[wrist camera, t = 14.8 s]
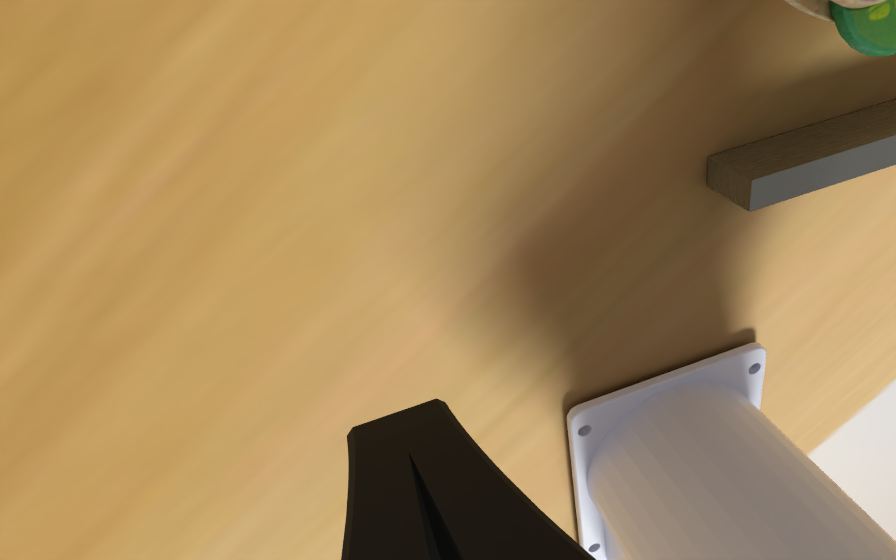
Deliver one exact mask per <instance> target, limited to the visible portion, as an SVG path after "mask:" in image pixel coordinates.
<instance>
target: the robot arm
mask: <svg viewBox="0 0 896 560" xmlns="http://www.w3.org/2000/svg"><path fill="white" fill-rule="evenodd" d="M765 362H766V349H765V348H764V347H763V346H761V345H760V344H759V343H756V342H753V343H749V344H746V345H743V346H741V347H738V348H735V349H732V350H729V351H727V352H724V353H721V354H718V355H715V356H713V357H710V358H707V359H704V360H701V361H699V362H696V363H693V364H690V365H687V366H685V367H682V368H679V369H676V370H673V371H671V372H668V373H665V374H662V375H660V376H657V377H654V378H651V379H648V380H646V381H643V382H640V383H637V384H634V385H632V386H629V387H626V388H623V389H620V390H618V391H615V392H612V393H609V394H606V395H604V396H601V397H598V398H595V399H593V400H590V401H587V402H584V403H581V404H579V405H576V406H575V407H573V408H572V409H571V410H570V411H569V413H568V415H567V427H568V437H569V447H570V456H571V466H572V475H573V485H574V495H575V504H576V514H577V524H578V533H579V543H580V545H579V544H578V543H577V542H576V541H574V540H573V539H572V538H571V537H570V536H569V535H568V534H566V533H565V532H564V531H563V530H562V529H561V528H560V527H558V526H557V525H556V524H555V523H554V522H553V521H552V520H551V519H550V518H549V517H548V516H547V515H545V514H544V513H543V512H542V511H541V510H540V509H539V508H538V507H537V506H536V505H535V504H534V503H533V502H532V501H531V500H530V499H529V498H528V497H527V496H526V495H525V494H524V493H523V492H522V491H521V490H520V489H519V488H518V487H517V486H516V485H515V484H514V483H513V482H512V481H511V480H510V479H509V478H508V477H507V476H506V475H505V474H504V473H503V472H502V471H501V470H500V469H499V468H498V467H497V466H496V465H495V464H494V463H493V462H492V460H491V459H490V458H489V457H488V456H487V455H486V454H485V453H484V451H483V450H482V449H481V448H480V447H479V446H478V445H477V444H476V442H475V441H474V440H473V439H472V438H471V436H470V435H469V434H468V433H467V432H466V430H465V429H464V428H463V427H462V425H461V424H460V423H459V421H458V420H457V419H456V417H455V416H454V415H453V413H452V412H451V410H450V409H449V407H448V406H447V404H446V403H445V402H443V401H441V400H439V399H434V400H431V401H428V402H425V403H422V404H419V405H416V406H414V407H411V408H408V409H405V410H402V411H399V412H396V413H393V414H390V415H387V416H384V417H382V418H379V419H376V420H373V421H370V422H367V423H364V424H361V425H358V426H355V427H353V428H352V429H351V431H350V432H349V434H348V435H347V442H348V456H349V480H348V499H347V514H346V524H345V532H344V541H343V549H342V558H341V560H896V541H895V540H894V539H893V538H892V537H891V536H890V535H889V534H887V533H886V532H885V531H884V530H883V529H882V528H881V527H880V526H879V525H878V524H877V523H876V522H875V521H874V520H873V519H872V518H871V517H870V516H869V515H868V514H867V513H866V512H865V511H864V510H862V509H861V508H860V507H859V506H858V505H857V504H856V503H855V502H854V501H853V500H852V499H851V498H850V497H849V496H848V495H847V494H846V493H845V492H844V491H843V490H841V488H840V487H839V486H838V485H837V484H835V483H834V482H833V481H832V480H831V479H830V478H829V477H828V476H827V475H826V474H825V473H824V472H823V471H822V470H821V469H820V468H819V467H818V466H817V465H816V464H815V463H814V462H813V461H811V459H809V458H808V457H807V456H806V455H805V454H804V453H803V452H802V451H801V450H800V449H799V448H798V447H797V446H796V445H795V444H794V443H793V442H792V441H791V440H790V439H789V438H788V437H787V436H786V435H785V434H783V433H782V432H781V431H780V430H779V429H778V428H777V427H776V426H775V425H774V424H773V423H772V422H771V421H770V420H769V419H768V418H767V417H766V416H765V415H764V414H763V413H762V412H761V411H760V403H761V395H762V387H763V378H764V370H765ZM583 426H584V427H583ZM581 427H582V428H581Z"/></svg>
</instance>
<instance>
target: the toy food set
mask: <svg viewBox="0 0 896 560" xmlns="http://www.w3.org/2000/svg"><path fill="white" fill-rule="evenodd" d="M784 1H786V2H787V3H789V4H790V5H792V6H793V7H795V8H797V9H799V10H801V11H803V12H805V13H807V14H809V15H811V16H814V17H817V18H819V19H822V20H826V21H831V22H835V25H836V27H837V29H838V31H839V34H840V35H841V36H842V38H843V39H844V40H845V41H846V42H847V43H848V44H849V46H850V47H851V48H853V49H855V50H856V51H858V52H860V53H862V54H865V55H867V56H888V55H893V54H896V0H784Z"/></svg>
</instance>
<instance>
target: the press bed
mask: <svg viewBox="0 0 896 560" xmlns="http://www.w3.org/2000/svg"><path fill="white" fill-rule="evenodd" d="M893 165H896V99H895V100H892V101H888V102H885V103H882V104H879V105H875V106H872V107H869V108H865V109H862V110H859V111H856V112H852V113H849V114H846V115H843V116H839V117H836V118H833V119H829V120H826V121H823V122H820V123H816V124H813V125H810V126H807V127H803V128H800V129H797V130H793V131H790V132H787V133H784V134H780V135H777V136H774V137H770V138H767V139H764V140H761V141H757V142H754V143H751V144H748V145H744V146H741V147H738V148H734V149H731V150H728V151H725V152H721V153H718V154H715V155H712V156H708V172H707V186H708V187H709V188H711V189H713V190H714V191H716V192H717V193H719V194H721V195H722V196H724V197H726V198H727V199H729V200H731V201H732V202H734V203H736V204H737V205H739V206H741V207H742V208H744V209H746V210H747V211H749V212H750V211H754V210H757V209H760V208H763V207H766V206H769V205H772V204H775V203H778V202H781V201H785V200H788V199H791V198H794V197H797V196H800V195H803V194H806V193H809V192H812V191H815V190H819V189H822V188H825V187H828V186H831V185H834V184H837V183H840V182H843V181H846V180H849V179H853V178H856V177H859V176H862V175H865V174H868V173H871V172H874V171H877V170H880V169H884V168H887V167H890V166H893Z"/></svg>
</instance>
